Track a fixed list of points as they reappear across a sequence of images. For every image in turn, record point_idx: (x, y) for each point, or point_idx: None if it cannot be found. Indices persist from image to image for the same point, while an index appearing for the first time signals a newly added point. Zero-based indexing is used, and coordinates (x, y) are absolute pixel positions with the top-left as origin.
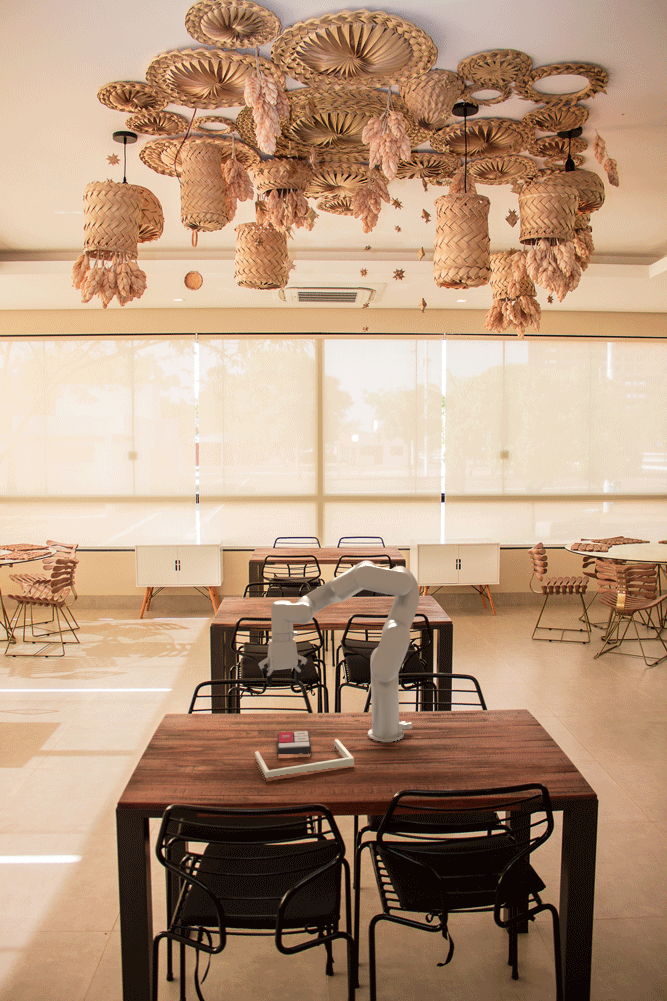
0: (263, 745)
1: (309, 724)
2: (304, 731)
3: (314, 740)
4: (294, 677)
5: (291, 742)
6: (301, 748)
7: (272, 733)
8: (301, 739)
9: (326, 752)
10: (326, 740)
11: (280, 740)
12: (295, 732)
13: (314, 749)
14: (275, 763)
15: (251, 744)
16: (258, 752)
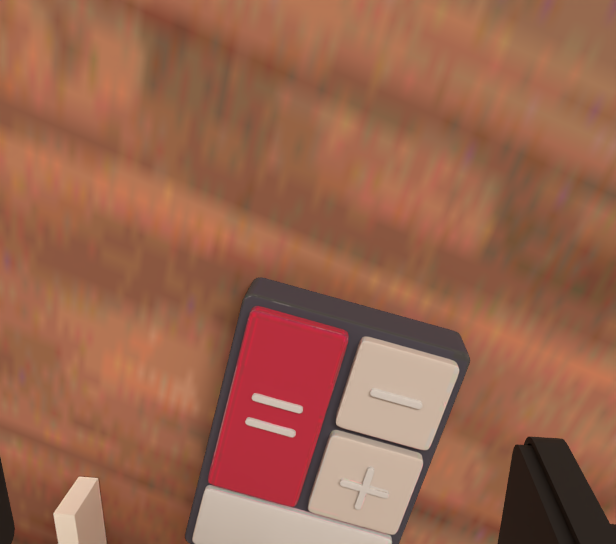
0: (150, 308)
1: (590, 59)
2: (434, 370)
3: (486, 367)
4: (540, 499)
5: (286, 502)
6: None
7: (246, 130)
8: (356, 507)
9: (478, 537)
10: (559, 398)
11: (223, 459)
12: (364, 363)
13: (431, 480)
14: (177, 539)
15: (76, 262)
16: (73, 527)
